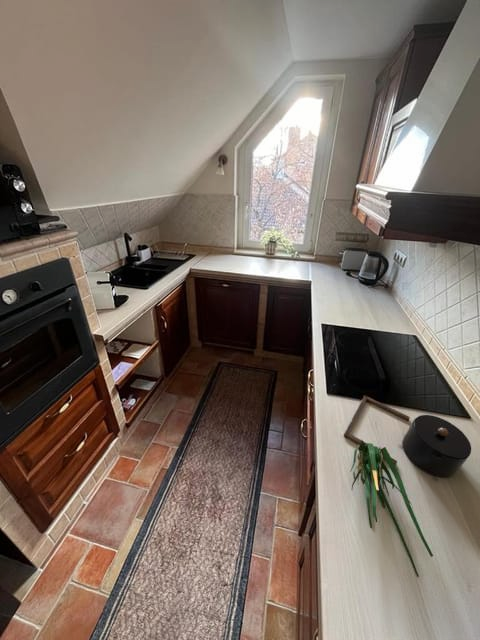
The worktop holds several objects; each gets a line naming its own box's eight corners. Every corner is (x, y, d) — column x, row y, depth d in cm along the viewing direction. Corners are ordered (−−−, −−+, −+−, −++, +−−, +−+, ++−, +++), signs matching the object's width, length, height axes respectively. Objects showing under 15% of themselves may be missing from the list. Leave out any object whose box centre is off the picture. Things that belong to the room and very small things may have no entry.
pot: (457, 449, 79) (476, 424, 73) (454, 492, 68) (476, 467, 62) (407, 424, 87) (420, 400, 81) (397, 459, 76) (411, 434, 70)
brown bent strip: (408, 419, 88) (410, 416, 88) (395, 466, 74) (396, 464, 73) (363, 397, 97) (364, 395, 96) (343, 435, 82) (344, 433, 81)
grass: (335, 465, 79) (330, 545, 56) (350, 426, 75) (352, 496, 52) (398, 494, 73) (422, 596, 50) (419, 454, 69) (455, 546, 46)
